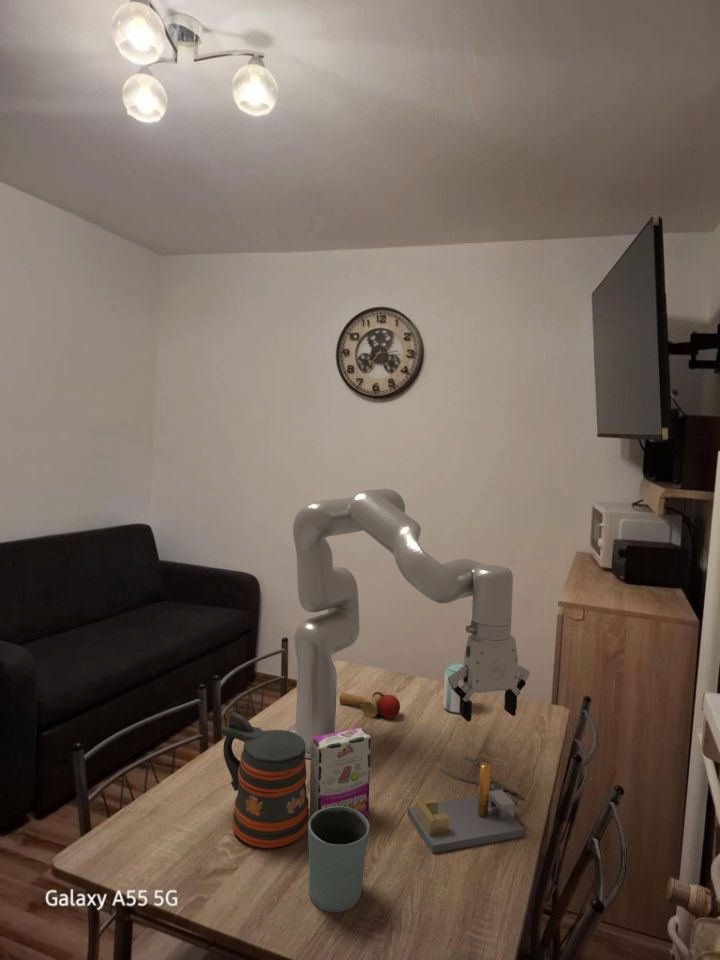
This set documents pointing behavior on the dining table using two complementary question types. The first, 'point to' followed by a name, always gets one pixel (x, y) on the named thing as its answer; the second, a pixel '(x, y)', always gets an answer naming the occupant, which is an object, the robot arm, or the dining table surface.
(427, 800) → the bracket
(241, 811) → the beer stein
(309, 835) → the grey green cup
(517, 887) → the dining table surface
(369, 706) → the kendama
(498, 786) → the pliers
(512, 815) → the block
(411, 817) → the tie down board
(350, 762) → the candy bar box
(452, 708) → the can
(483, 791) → the amber lever
